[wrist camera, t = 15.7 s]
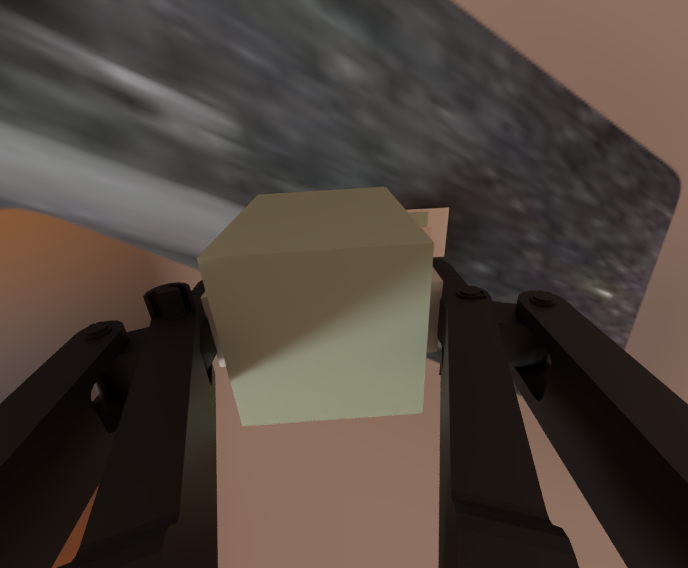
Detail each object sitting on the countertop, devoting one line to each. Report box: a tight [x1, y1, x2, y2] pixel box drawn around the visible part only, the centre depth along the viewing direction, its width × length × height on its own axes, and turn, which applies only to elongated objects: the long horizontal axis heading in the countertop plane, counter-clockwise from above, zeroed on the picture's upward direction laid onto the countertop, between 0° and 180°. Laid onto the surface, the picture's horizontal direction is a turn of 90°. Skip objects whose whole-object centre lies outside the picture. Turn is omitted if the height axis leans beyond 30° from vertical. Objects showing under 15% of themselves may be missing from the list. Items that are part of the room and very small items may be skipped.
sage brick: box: [197, 187, 434, 426], centre depth 13 cm, size 6×6×8 cm
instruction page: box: [406, 207, 449, 257], centre depth 39 cm, size 6×8×1 cm
